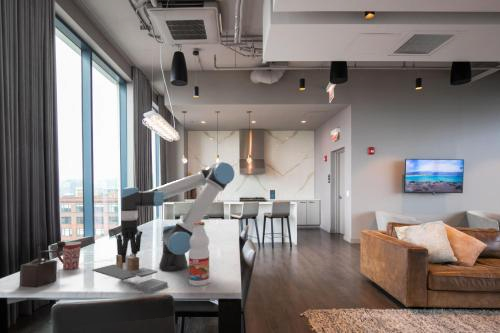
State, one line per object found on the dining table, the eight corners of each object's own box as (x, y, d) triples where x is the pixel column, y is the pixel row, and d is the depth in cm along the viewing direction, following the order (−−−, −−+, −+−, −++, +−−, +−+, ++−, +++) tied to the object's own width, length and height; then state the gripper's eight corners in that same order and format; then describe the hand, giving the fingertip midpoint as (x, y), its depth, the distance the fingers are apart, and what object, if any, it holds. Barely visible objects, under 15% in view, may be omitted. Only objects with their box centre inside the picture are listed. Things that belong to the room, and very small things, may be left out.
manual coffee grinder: (38, 287, 131) (40, 247, 132) (18, 286, 133) (20, 246, 134) (66, 276, 146) (68, 240, 147) (48, 275, 148) (49, 239, 149)
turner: (111, 268, 142) (111, 255, 142) (126, 264, 148) (126, 252, 149) (141, 277, 128) (142, 263, 129) (156, 272, 135) (157, 259, 135)
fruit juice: (212, 280, 139) (212, 221, 141) (204, 287, 130) (204, 224, 132) (194, 278, 142) (194, 220, 144) (185, 285, 133) (185, 223, 134)
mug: (84, 265, 166) (84, 241, 167) (73, 270, 157) (74, 245, 157) (62, 265, 166) (63, 241, 167) (51, 270, 157) (51, 244, 158)
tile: (153, 278, 138) (167, 282, 132) (153, 283, 138) (167, 287, 132) (134, 284, 129) (148, 289, 124) (134, 289, 129) (148, 294, 124)
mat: (113, 265, 167) (113, 264, 167) (144, 273, 151) (144, 272, 151) (92, 270, 157) (92, 269, 157) (122, 279, 141) (122, 278, 141)
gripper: (139, 217, 151) (138, 263, 149) (109, 220, 137) (108, 271, 136) (148, 218, 146) (147, 265, 145) (118, 221, 133) (117, 274, 132)
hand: (128, 268), depth 141 cm, fingers closed on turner, 3 cm apart
